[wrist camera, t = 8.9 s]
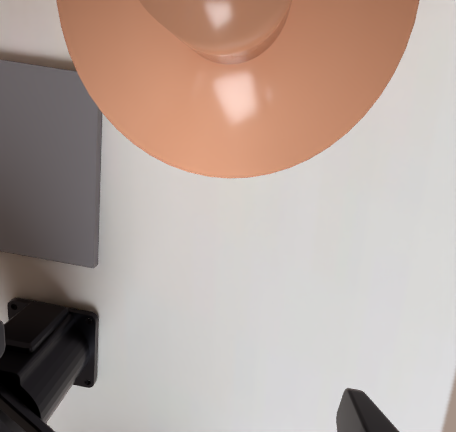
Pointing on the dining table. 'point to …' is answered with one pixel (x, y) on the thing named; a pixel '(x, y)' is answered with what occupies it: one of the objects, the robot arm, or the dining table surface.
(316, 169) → the dining table surface
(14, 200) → the mat
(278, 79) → the lid
